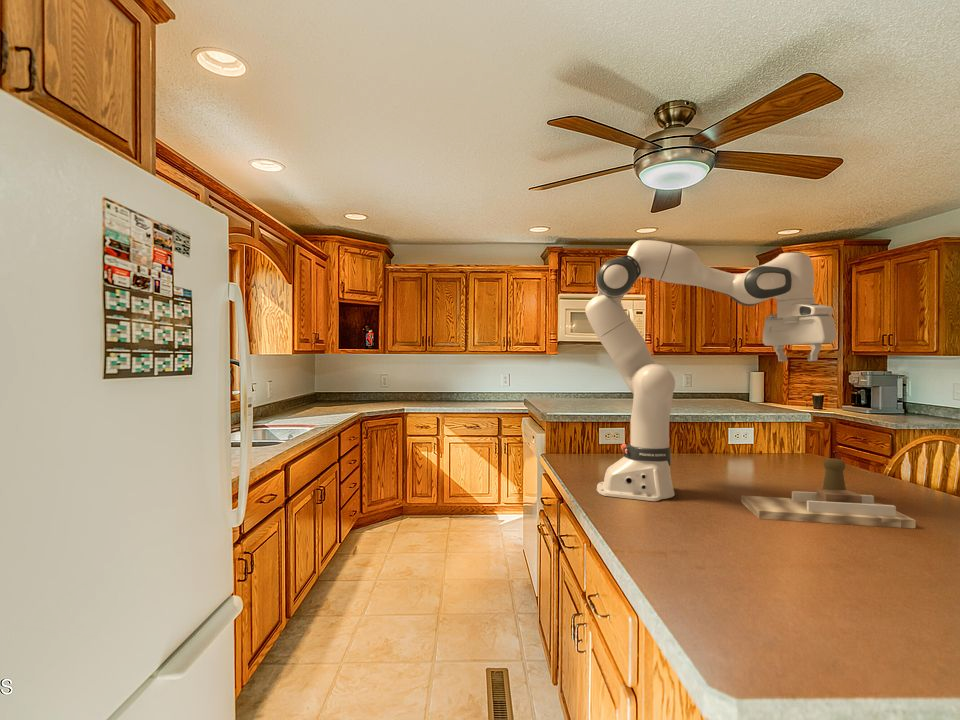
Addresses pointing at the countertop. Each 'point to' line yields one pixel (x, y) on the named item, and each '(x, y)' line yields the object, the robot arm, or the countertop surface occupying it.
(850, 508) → the channel walls
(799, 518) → the board
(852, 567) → the countertop surface
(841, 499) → the walnut block
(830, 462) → the cork
